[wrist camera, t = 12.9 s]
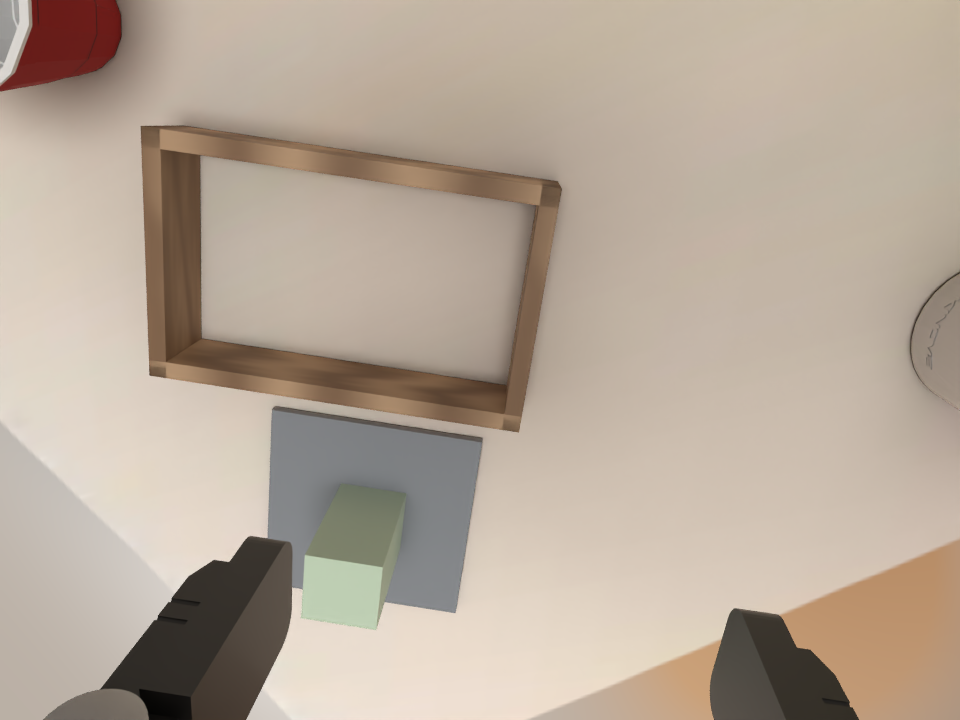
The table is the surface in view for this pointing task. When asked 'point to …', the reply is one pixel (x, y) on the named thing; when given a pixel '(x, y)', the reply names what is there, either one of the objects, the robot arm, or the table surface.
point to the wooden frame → (305, 376)
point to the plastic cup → (55, 39)
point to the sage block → (353, 557)
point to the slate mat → (381, 465)
